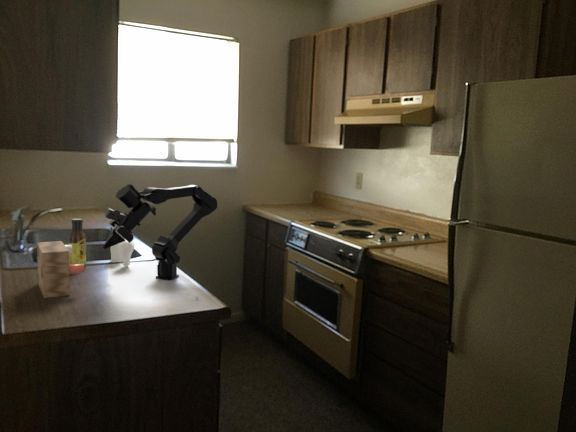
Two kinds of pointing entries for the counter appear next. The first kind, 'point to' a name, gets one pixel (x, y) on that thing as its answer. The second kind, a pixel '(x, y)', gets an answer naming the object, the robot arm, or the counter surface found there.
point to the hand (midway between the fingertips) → (103, 247)
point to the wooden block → (53, 269)
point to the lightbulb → (126, 251)
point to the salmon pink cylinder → (76, 268)
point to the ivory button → (69, 248)
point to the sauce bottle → (77, 243)
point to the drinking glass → (116, 254)
